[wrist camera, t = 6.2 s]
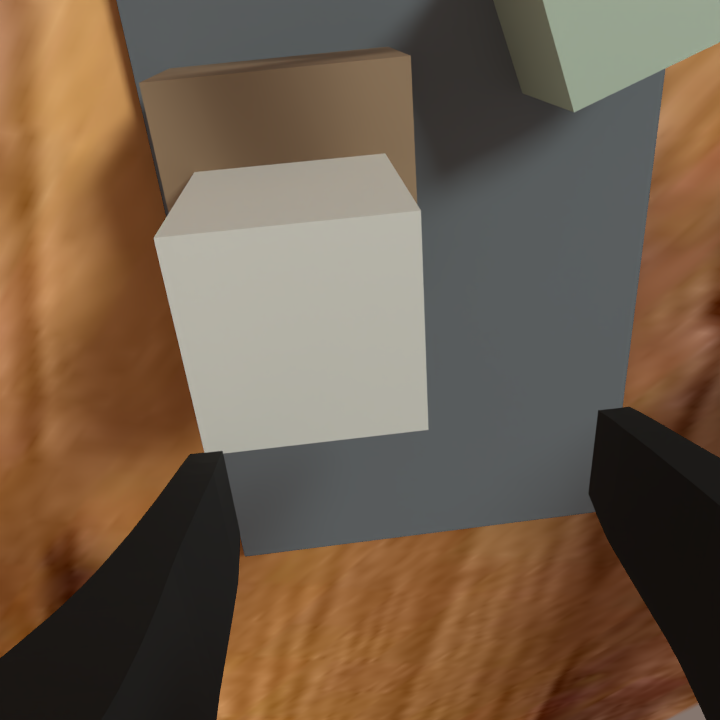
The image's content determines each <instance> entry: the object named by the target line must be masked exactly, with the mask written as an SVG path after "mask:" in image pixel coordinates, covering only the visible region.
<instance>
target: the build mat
mask: <svg viewBox="0 0 720 720" xmlns="http://www.w3.org/2000/svg"><path fill="white" fill-rule="evenodd" d="M116 1H117V5H118V9H119V14H120V18H121V22H122V27H123V31H124V35H125V40H126V44H127V48H128V53H129V57H130V61H131V66H132V70H133V74H134V79H135V83H136V87H137V92H138V96H139V100H140V105H141V109H142V113H143V118H144V122H145V126H146V131H147V135H148V139H149V144H150V148H151V152H152V157H153V161H154V165H155V170H156V174H157V178H158V183H159V187H160V191H161V196H162V200H163V204H164V209H165V213H166V217H167V215H168V214H169V212H168V208H167V204H166V199H165V195H164V190H163V186H162V182H161V177H160V173H159V169H158V164H157V160H156V155H155V151H154V147H153V142H152V138H151V134H150V129H149V125H148V120H147V116H146V112H145V107H144V103H143V99H142V94H141V90H140V85H139V83H140V82H142V81H144V80H146V79H148V78H150V77H152V76H154V75H157V74H159V73H161V72H163V71H165V70H167V69H169V68H178V67H188V66H198V65H208V64H218V63H228V62H238V61H248V60H258V59H268V58H279V57H289V56H299V55H309V54H319V53H329V52H339V51H349V50H359V49H369V48H379V47H390V48H393V49H395V50H398V51H400V52H403V53H405V54H408V55H410V56H411V73H412V96H413V119H414V142H415V165H416V188H417V205H418V207H419V208H420V210H421V227H422V256H423V285H424V314H425V343H426V373H427V402H428V430H423V431H414V432H406V433H397V434H388V435H380V436H371V437H362V438H354V439H345V440H336V441H328V442H319V443H310V444H302V445H293V446H284V447H276V448H267V449H258V450H250V451H241V452H232V453H224V454H223V455H224V460H225V464H226V469H227V474H228V478H229V483H230V488H231V492H232V497H233V502H234V506H235V511H236V516H237V520H238V525H239V530H240V537H241V542H242V546H243V550H244V555H245V556H253V555H261V554H269V553H277V552H285V551H292V550H300V549H308V548H316V547H324V546H332V545H340V544H348V543H355V542H363V541H371V540H379V539H387V538H395V537H403V536H411V535H418V534H426V533H434V532H442V531H450V530H458V529H466V528H474V527H481V526H489V525H497V524H505V523H513V522H521V521H529V520H537V519H544V518H552V517H560V516H568V515H576V514H584V513H592V512H595V509H594V507H593V504H592V502H591V499H590V497H589V494H588V492H589V484H590V475H591V467H592V458H593V450H594V441H595V433H596V425H597V416H598V410H605V409H615V408H622V406H623V398H624V390H625V382H626V375H627V367H628V359H629V351H630V343H631V335H632V327H633V319H634V311H635V304H636V296H637V288H638V280H639V272H640V264H641V256H642V248H643V241H644V233H645V225H646V217H647V209H648V201H649V193H650V185H651V177H652V170H653V162H654V154H655V146H656V138H657V130H658V122H659V114H660V107H661V99H662V91H663V83H664V75H665V69H663V70H661V71H659V72H657V73H655V74H653V75H651V76H648V77H646V78H644V79H642V80H640V81H638V82H636V83H634V84H632V85H630V86H628V87H626V88H624V89H622V90H620V91H617V92H615V93H613V94H611V95H609V96H607V97H605V98H603V99H601V100H599V101H597V102H595V103H593V104H591V105H588V106H586V107H584V108H582V109H580V110H578V111H576V112H572V111H569V110H566V109H564V108H561V107H558V106H555V105H553V104H550V103H547V102H545V101H542V100H539V99H537V98H534V97H531V96H528V95H526V94H523V93H522V91H521V87H520V84H519V81H518V78H517V75H516V71H515V68H514V65H513V62H512V59H511V56H510V52H509V49H508V46H507V43H506V40H505V36H504V33H503V30H502V27H501V24H500V21H499V17H498V14H497V11H496V8H495V5H494V1H493V0H116Z"/></svg>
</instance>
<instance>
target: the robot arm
mask: <svg viewBox="0 0 720 720" xmlns="http://www.w3.org/2000/svg"><path fill="white" fill-rule="evenodd" d="M588 494H589V497H590V499H591V502H592V504H593V507H594V509H595V512H596V514H597V517H598V519H599V521H600V524H601V526H602V528H603V530H604V533H605V535H606V537H607V539H608V541H609V543H610V545H611V546H612V548H613V550H614V552H615V553H616V555H617V557H618V558H619V560H620V562H621V564H622V565H623V567H624V569H625V570H626V572H627V574H628V575H629V577H630V579H631V580H632V582H633V584H634V585H635V587H636V589H637V590H638V592H639V594H640V595H641V597H642V599H643V600H644V602H645V604H646V605H647V607H648V609H649V610H650V612H651V614H652V615H653V617H654V619H655V620H656V622H657V624H658V625H659V627H660V629H661V630H662V632H663V634H664V635H665V637H666V639H667V641H668V642H669V644H670V646H671V648H672V650H673V652H674V653H675V655H676V657H677V659H678V661H679V663H680V665H681V667H682V669H683V671H684V673H685V675H686V677H687V680H688V682H689V684H690V686H691V688H692V690H693V692H694V695H695V697H696V699H697V701H698V703H699V705H700V707H701V709H702V712H703V714H704V716H705V718H706V720H720V458H719V457H717V456H715V455H714V454H712V453H710V452H708V451H706V450H705V449H703V448H701V447H700V446H698V445H696V444H694V443H693V442H691V441H689V440H687V439H686V438H684V437H682V436H681V435H679V434H677V433H676V432H674V431H672V430H670V429H669V428H667V427H665V426H664V425H662V424H660V423H658V422H657V421H655V420H653V419H651V418H650V417H648V416H646V415H644V414H642V413H641V412H639V411H637V410H635V409H633V408H631V407H624V408H615V409H605V410H598V416H597V425H596V433H595V441H594V450H593V458H592V467H591V475H590V484H589V492H588ZM239 554H240V530H239V525H238V520H237V516H236V511H235V506H234V502H233V497H232V492H231V488H230V483H229V478H228V474H227V469H226V464H225V460H224V455H223V451H216V452H207V453H198V454H190V455H189V456H188V458H187V459H186V460H185V461H184V462H183V464H182V465H181V467H180V468H179V469H178V471H177V472H176V473H175V475H174V476H173V478H172V479H171V480H170V482H169V483H168V484H167V486H166V487H165V489H164V490H163V491H162V493H161V494H160V495H159V497H158V498H157V499H156V501H155V502H154V503H153V505H152V506H151V507H150V508H149V510H148V511H147V512H146V514H145V515H144V516H143V517H142V519H141V520H140V521H139V522H138V524H137V525H136V526H135V528H134V529H133V530H132V531H131V532H130V534H129V535H128V536H127V537H126V538H125V540H124V541H123V542H122V543H121V544H120V545H119V546H118V548H117V549H116V550H115V551H114V552H113V553H112V554H111V556H110V557H109V558H108V559H107V560H106V561H105V562H104V564H103V565H102V566H101V567H100V568H99V569H98V570H97V571H96V572H95V573H94V575H93V576H92V577H91V578H90V579H89V580H88V581H87V582H86V583H85V584H84V585H83V586H82V587H81V588H80V589H79V590H78V591H77V592H76V593H75V594H74V595H73V596H72V597H70V598H69V599H68V600H67V601H66V602H65V603H64V604H63V605H62V606H61V607H60V608H59V609H58V610H57V611H56V612H55V613H53V614H52V615H51V616H50V617H49V618H48V619H46V620H45V621H44V622H43V623H42V624H41V625H39V626H38V627H37V628H36V629H35V630H33V631H32V632H31V633H30V634H29V635H27V636H26V637H25V638H24V639H23V640H22V641H20V642H19V643H18V644H17V645H16V646H14V647H13V648H12V649H11V650H10V651H8V652H7V653H6V654H5V655H4V656H2V657H1V658H0V720H216V719H217V711H218V703H219V695H220V689H221V683H222V677H223V671H224V665H225V659H226V653H227V647H228V641H229V635H230V629H231V624H232V618H233V611H234V605H235V599H236V593H237V586H238V576H239Z"/></svg>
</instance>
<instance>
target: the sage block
mask: <svg viewBox="0 0 720 720" xmlns="http://www.w3.org/2000/svg"><path fill="white" fill-rule="evenodd" d="M493 1H494V5H495V8H496V11H497V14H498V17H499V21H500V24H501V27H502V30H503V33H504V36H505V40H506V43H507V46H508V49H509V52H510V56H511V59H512V62H513V65H514V68H515V71H516V75H517V78H518V81H519V84H520V87H521V91H522V93H523V94H526V95H528V96H531V97H534V98H537V99H539V100H542V101H545V102H547V103H550V104H553V105H555V106H558V107H561V108H564V109H566V110H569V111H572V112H576V111H578V110H580V109H582V108H584V107H586V106H588V105H591V104H593V103H595V102H597V101H599V100H601V99H603V98H605V97H607V96H609V95H611V94H613V93H615V92H617V91H620V90H622V89H624V88H626V87H628V86H630V85H632V84H634V83H636V82H638V81H640V80H642V79H644V78H646V77H648V76H651V75H653V74H655V73H657V72H659V71H661V70H663V69H665V68H667V67H669V66H671V65H673V64H675V63H677V62H680V61H682V60H684V59H686V58H688V57H690V56H692V55H694V54H696V53H698V52H700V51H702V50H704V49H706V48H709V47H711V46H713V45H715V44H717V43H719V42H720V0H493Z"/></svg>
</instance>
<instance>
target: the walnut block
mask: <svg viewBox="0 0 720 720" xmlns="http://www.w3.org/2000/svg"><path fill="white" fill-rule="evenodd" d="M139 85H140V90H141V94H142V99H143V103H144V107H145V112H146V116H147V120H148V125H149V129H150V134H151V138H152V142H153V147H154V151H155V155H156V160H157V164H158V169H159V173H160V177H161V182H162V186H163V190H164V195H165V199H166V204H167V208H168V212H170V211H171V209H172V207H173V206H174V204H175V202H176V201H177V199H178V198H179V196H180V194H181V193H182V191H183V190H184V188H185V186H186V185H187V183H188V181H189V180H190V178H191V177H192V175H193V173H194V172H201V171H212V170H222V169H232V168H242V167H252V166H262V165H273V164H283V163H293V162H303V161H313V160H323V159H333V158H344V157H354V156H364V155H374V154H384V153H385V154H386V155H387V157H388V159H389V160H390V162H391V163H392V165H393V167H394V168H395V170H396V171H397V173H398V175H399V176H400V178H401V179H402V181H403V183H404V184H405V186H406V187H407V189H408V191H409V192H410V194H411V195H412V197H413V199H414V200H415V202H416V203H417V188H416V165H415V142H414V119H413V96H412V73H411V56H410V55H408V54H405V53H403V52H400V51H398V50H395V49H393V48H390V47H379V48H369V49H359V50H349V51H339V52H329V53H319V54H309V55H299V56H289V57H279V58H268V59H258V60H248V61H238V62H228V63H218V64H208V65H198V66H188V67H178V68H169V69H167V70H165V71H163V72H161V73H159V74H157V75H154V76H152V77H150V78H148V79H146V80H144V81H142V82H140V83H139Z"/></svg>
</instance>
